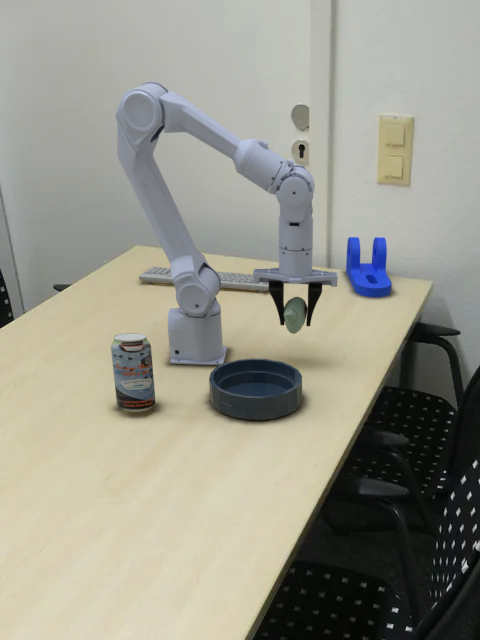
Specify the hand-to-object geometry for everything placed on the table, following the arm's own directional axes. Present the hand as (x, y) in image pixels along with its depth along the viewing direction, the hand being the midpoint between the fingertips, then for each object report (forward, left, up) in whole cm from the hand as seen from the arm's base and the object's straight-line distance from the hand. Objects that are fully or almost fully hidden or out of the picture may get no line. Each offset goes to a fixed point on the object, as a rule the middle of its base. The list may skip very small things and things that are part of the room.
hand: (295, 323), depth 140 cm
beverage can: (-25, -20, -8) cm, 33 cm away
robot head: (0, 0, -2) cm, 2 cm away
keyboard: (-21, +43, -8) cm, 49 cm away
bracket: (+16, +46, -8) cm, 49 cm away
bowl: (-6, -16, -8) cm, 19 cm away
